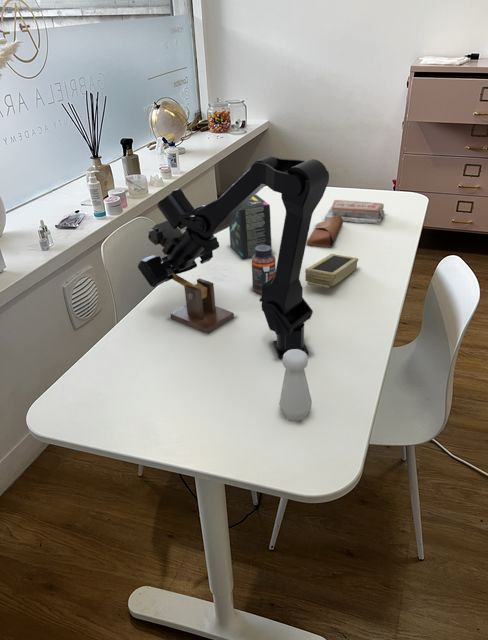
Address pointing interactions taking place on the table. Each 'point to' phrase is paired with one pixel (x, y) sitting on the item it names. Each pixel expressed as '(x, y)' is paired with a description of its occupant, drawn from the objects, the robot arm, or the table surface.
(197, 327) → the switch bracket
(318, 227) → the sunglasses case
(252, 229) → the tampon box
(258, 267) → the supplement bottle
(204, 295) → the lever
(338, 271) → the box
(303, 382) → the salt shaker
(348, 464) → the table surface
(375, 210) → the packaged product
